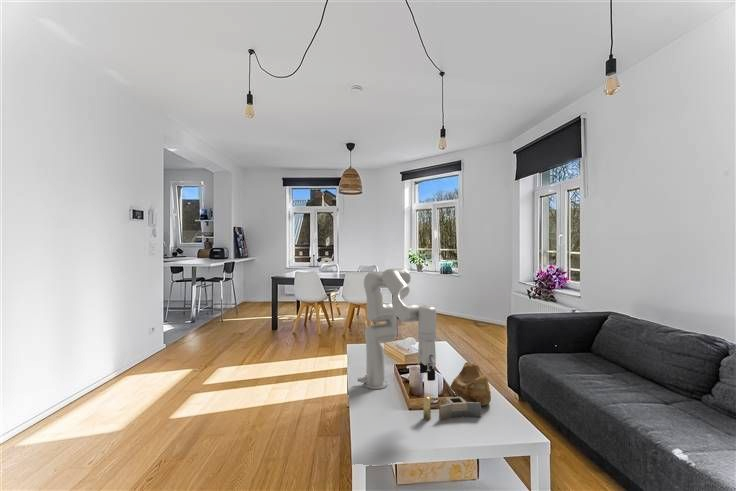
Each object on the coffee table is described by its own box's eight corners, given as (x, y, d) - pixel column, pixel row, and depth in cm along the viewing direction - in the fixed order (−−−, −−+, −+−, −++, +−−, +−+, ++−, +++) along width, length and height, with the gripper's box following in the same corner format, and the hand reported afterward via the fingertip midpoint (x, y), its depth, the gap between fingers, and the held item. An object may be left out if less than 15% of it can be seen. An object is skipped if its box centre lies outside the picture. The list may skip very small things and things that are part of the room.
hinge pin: (424, 420, 161) (424, 399, 161) (422, 417, 164) (422, 396, 164) (431, 420, 161) (431, 398, 161) (429, 416, 164) (429, 395, 164)
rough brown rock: (446, 391, 195) (444, 362, 195) (478, 387, 196) (476, 359, 195) (458, 412, 172) (455, 379, 172) (494, 408, 173) (492, 376, 172)
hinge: (439, 420, 160) (439, 406, 160) (433, 412, 169) (433, 398, 169) (481, 417, 164) (481, 403, 164) (472, 409, 172) (472, 395, 172)
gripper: (412, 332, 170) (412, 370, 170) (425, 341, 153) (425, 384, 153) (428, 331, 171) (429, 369, 171) (443, 340, 154) (443, 383, 154)
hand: (427, 376), depth 162 cm, fingers open, 9 cm apart
